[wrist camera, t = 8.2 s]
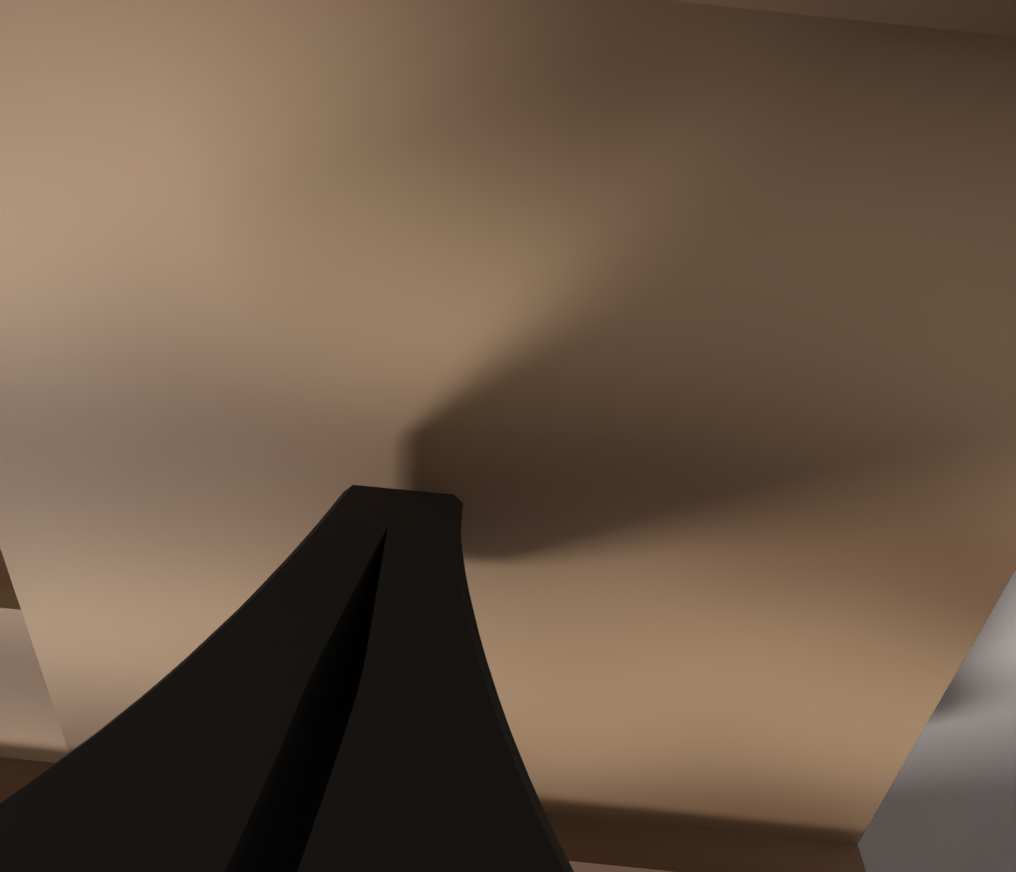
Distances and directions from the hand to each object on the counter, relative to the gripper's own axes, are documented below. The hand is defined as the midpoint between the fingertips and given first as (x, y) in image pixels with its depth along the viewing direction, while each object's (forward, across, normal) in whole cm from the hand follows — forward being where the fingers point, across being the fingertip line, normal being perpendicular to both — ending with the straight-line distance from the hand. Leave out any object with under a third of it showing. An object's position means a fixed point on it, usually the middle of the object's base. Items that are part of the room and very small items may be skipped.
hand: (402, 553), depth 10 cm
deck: (+3, +3, 0) cm, 4 cm away
